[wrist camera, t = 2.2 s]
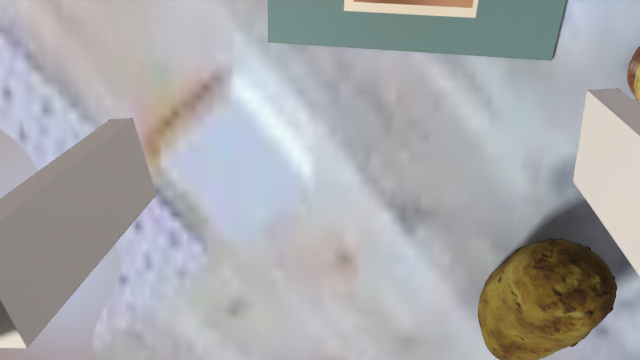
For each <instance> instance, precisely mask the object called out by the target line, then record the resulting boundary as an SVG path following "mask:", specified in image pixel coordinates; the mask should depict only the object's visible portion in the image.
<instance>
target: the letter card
mask: <svg viewBox="0 0 640 360" xmlns="http://www.w3.org/2000/svg"><path fill="white" fill-rule="evenodd" d="M565 3H566V0H473V6H472V8H462V7H443V6H424V5H404V4H385V3H366V2H353V0H268V42H273V43H288V44H304V45H319V46H335V47H350V48H366V49H381V50H397V51H412V52H428V53H443V54H459V55H474V56H490V57H505V58H521V59H536V60H552V57H553V53H554V48H555V44H556V40H557V36H558V32H559V28H560V24H561V20H562V15H563V11H564V7H565Z"/></svg>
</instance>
